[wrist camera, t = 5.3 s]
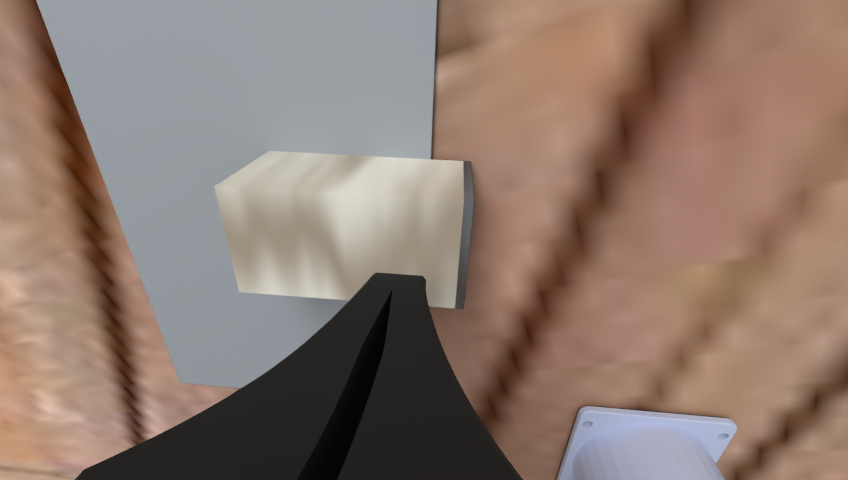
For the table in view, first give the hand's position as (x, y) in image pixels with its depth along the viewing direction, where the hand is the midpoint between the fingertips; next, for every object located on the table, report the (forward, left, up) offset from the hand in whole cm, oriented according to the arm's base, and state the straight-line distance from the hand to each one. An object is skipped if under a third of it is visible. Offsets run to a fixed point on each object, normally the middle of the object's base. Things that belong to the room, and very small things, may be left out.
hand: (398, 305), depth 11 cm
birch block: (0, -2, -5) cm, 5 cm away
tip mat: (0, +7, -7) cm, 10 cm away
